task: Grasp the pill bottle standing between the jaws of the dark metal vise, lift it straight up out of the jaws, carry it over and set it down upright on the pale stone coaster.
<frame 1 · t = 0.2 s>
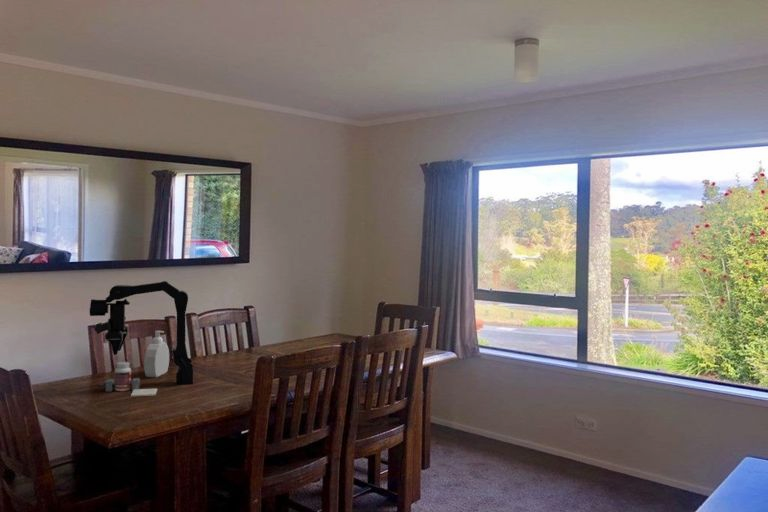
hand: (117, 352, 250), 14 cm above the table, fingers open, 9 cm apart
coaster: (144, 393, 241), on the table
pill bottle: (122, 390, 245), on the table
soap bottle: (157, 374, 273), on the table
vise: (122, 389, 245), on the table
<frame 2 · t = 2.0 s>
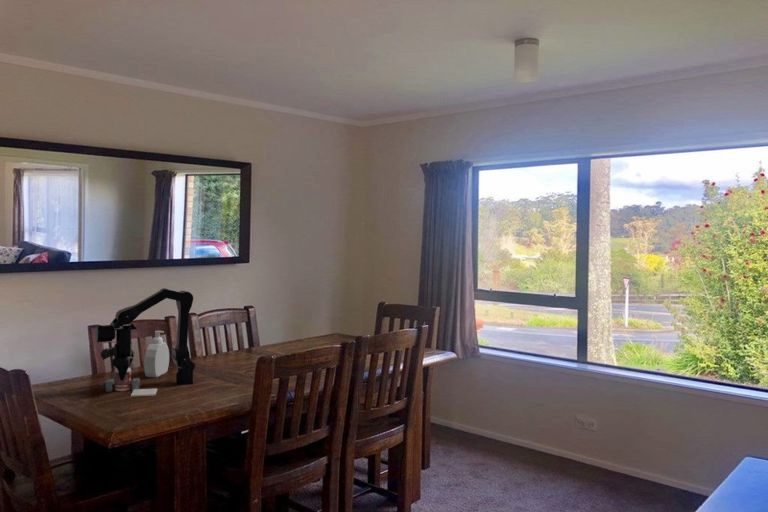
hand: (123, 378, 245), 5 cm above the table, fingers closed on pill bottle, 6 cm apart
pill bottle: (122, 390, 245), on the table, touching gripper
everything else where it was.
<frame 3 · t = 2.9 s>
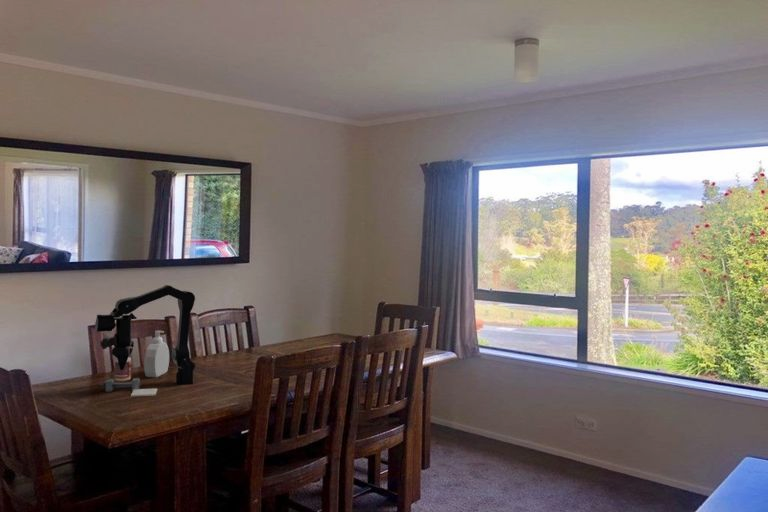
hand: (123, 368, 245), 9 cm above the table, fingers closed on pill bottle, 6 cm apart
pill bottle: (122, 379, 245), point 4 cm above the table, touching gripper
everything else where it was.
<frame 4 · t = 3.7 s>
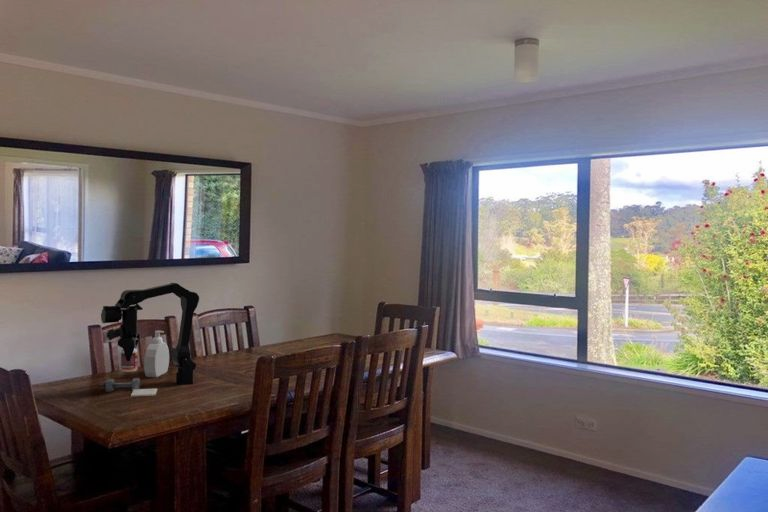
hand: (129, 359, 244), 13 cm above the table, fingers closed on pill bottle, 6 cm apart
pill bottle: (129, 371, 244), point 8 cm above the table, touching gripper
everything else where it was.
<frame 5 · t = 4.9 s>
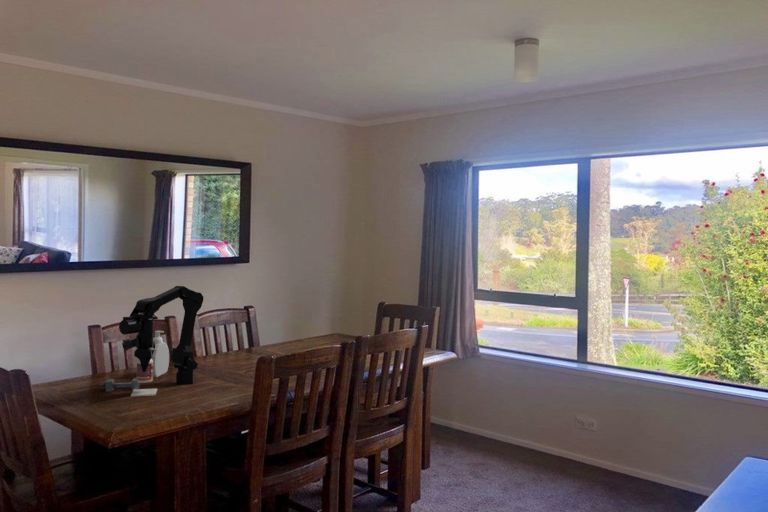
hand: (145, 370, 240), 9 cm above the table, fingers closed on pill bottle, 6 cm apart
pill bottle: (144, 381, 241), point 5 cm above the table, touching gripper
everything else where it was.
when the fingers open (6 cm above the table, at t = 5.9 s): pill bottle stays where it is, resting on coaster.
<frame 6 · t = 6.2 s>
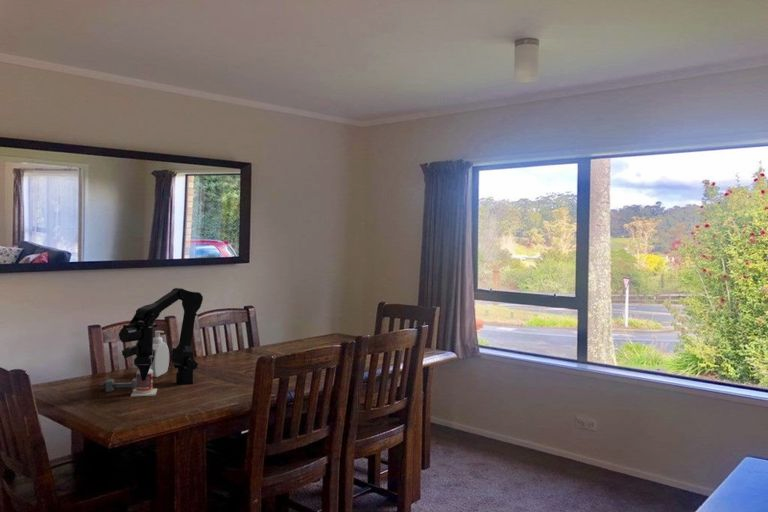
hand: (144, 377, 240), 6 cm above the table, fingers open, 9 cm apart
pill bottle: (144, 392, 241), resting on coaster
everything else where it was.
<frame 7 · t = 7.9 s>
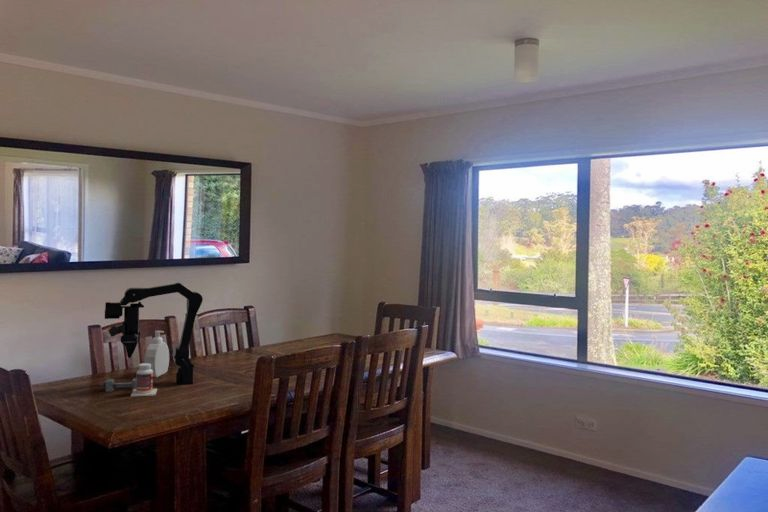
hand: (130, 355, 250), 13 cm above the table, fingers open, 9 cm apart
nothing on the table moved.
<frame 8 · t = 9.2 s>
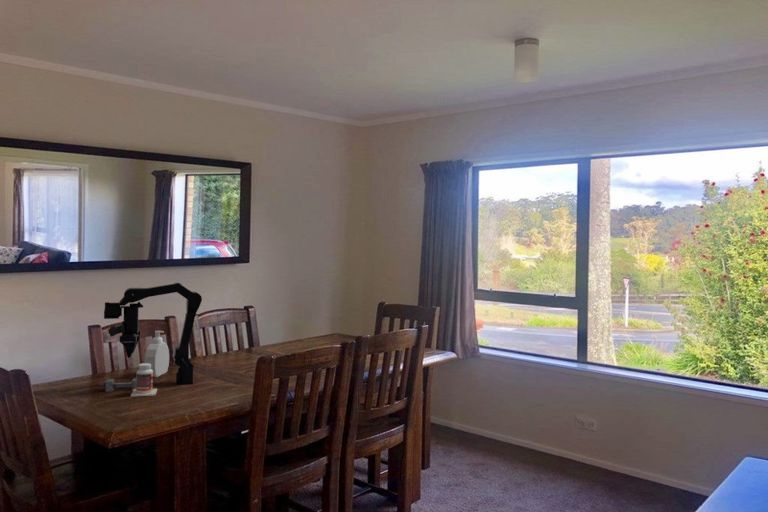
hand: (130, 355, 250), 13 cm above the table, fingers open, 9 cm apart
nothing on the table moved.
at the end: pill bottle inside the target area on the coaster (0.1 cm from its centre), point 0.4 cm above the coaster's base; pill bottle tilted 0°; the gripper is holding nothing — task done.
